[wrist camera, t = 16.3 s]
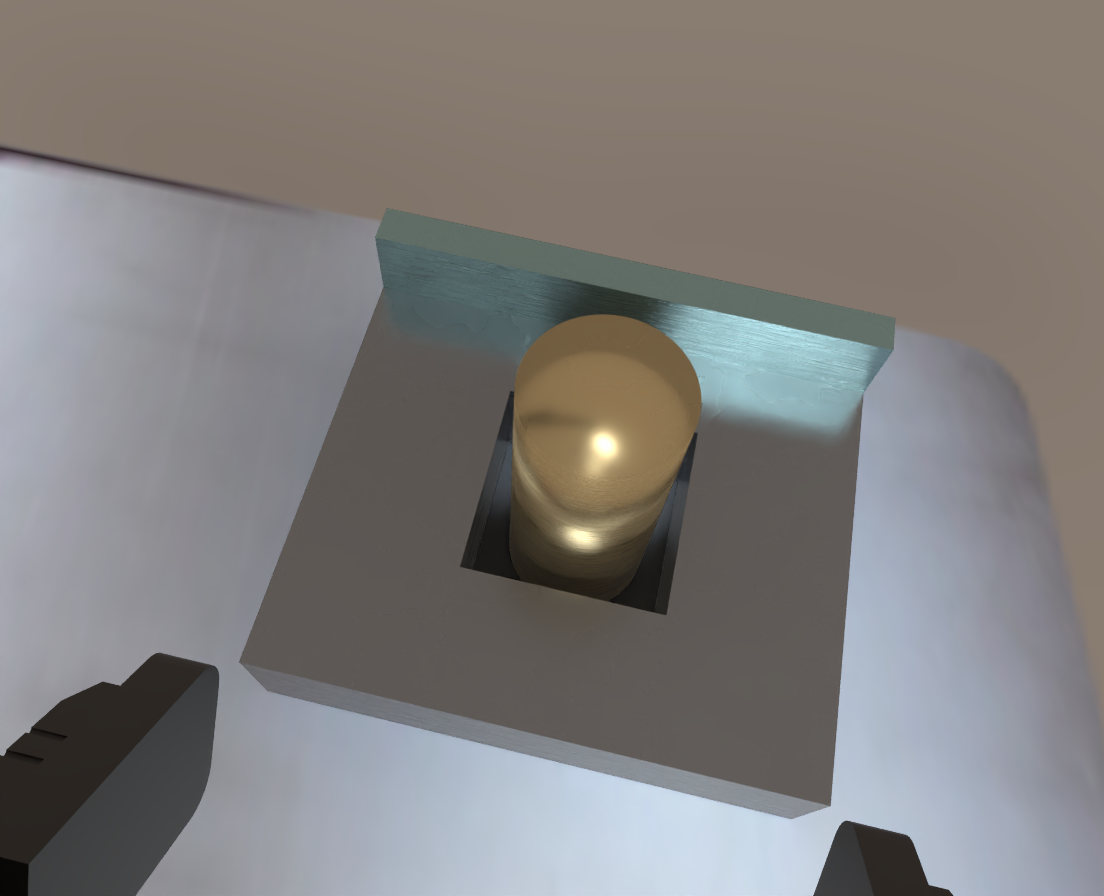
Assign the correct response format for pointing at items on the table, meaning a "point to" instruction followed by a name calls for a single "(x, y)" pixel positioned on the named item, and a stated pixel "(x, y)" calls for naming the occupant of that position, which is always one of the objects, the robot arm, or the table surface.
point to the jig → (561, 617)
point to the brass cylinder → (596, 450)
